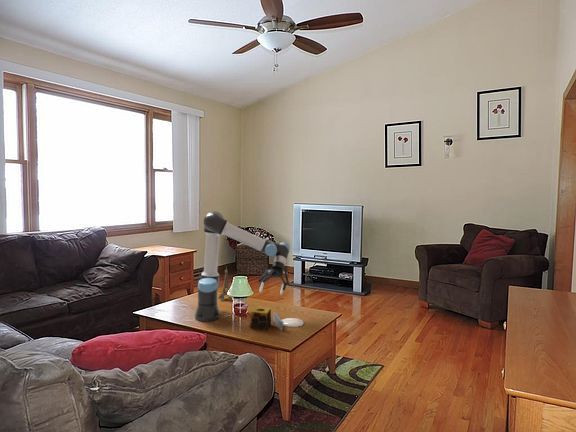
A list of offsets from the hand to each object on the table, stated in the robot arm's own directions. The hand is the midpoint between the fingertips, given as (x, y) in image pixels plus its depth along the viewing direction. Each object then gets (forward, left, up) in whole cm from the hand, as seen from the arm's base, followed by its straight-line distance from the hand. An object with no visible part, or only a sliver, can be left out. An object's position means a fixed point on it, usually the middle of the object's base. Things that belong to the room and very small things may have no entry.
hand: (270, 293), depth 243 cm
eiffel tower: (-21, +50, -17) cm, 57 cm away
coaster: (+12, -8, -17) cm, 22 cm away
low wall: (+3, -10, -17) cm, 20 cm away
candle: (-8, -10, -17) cm, 21 cm away
